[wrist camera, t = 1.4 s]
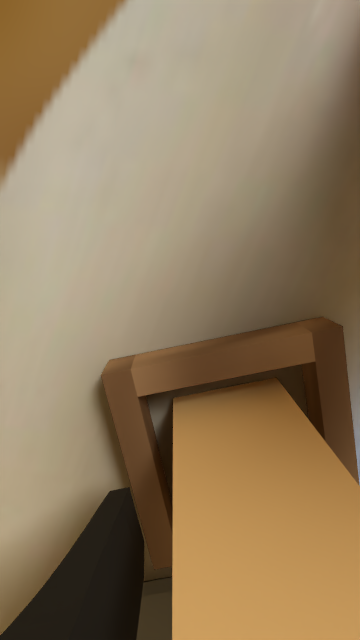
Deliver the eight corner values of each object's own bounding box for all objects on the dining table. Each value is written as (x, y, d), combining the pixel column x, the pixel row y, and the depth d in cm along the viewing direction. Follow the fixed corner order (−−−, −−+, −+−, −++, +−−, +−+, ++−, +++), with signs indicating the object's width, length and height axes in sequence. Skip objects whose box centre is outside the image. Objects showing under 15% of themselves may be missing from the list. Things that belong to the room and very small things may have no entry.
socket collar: (322, 316, 12) (342, 326, 11) (344, 501, 14) (363, 530, 13) (109, 360, 13) (100, 375, 11) (156, 536, 14) (154, 569, 13)
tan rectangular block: (276, 377, 13) (487, 653, 4) (290, 468, 14) (491, 854, 5) (173, 398, 13) (172, 709, 4) (193, 486, 14) (226, 895, 5)
